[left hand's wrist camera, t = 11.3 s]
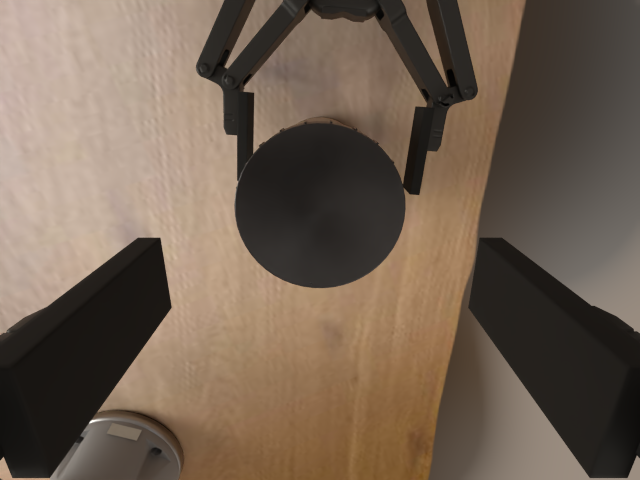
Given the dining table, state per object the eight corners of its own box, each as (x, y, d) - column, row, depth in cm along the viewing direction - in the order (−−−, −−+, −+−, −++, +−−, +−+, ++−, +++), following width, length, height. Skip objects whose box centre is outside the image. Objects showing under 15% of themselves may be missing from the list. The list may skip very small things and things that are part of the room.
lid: (414, 250, 23) (423, 263, 21) (272, 290, 24) (268, 306, 22) (377, 96, 20) (383, 96, 18) (215, 150, 21) (205, 155, 19)
